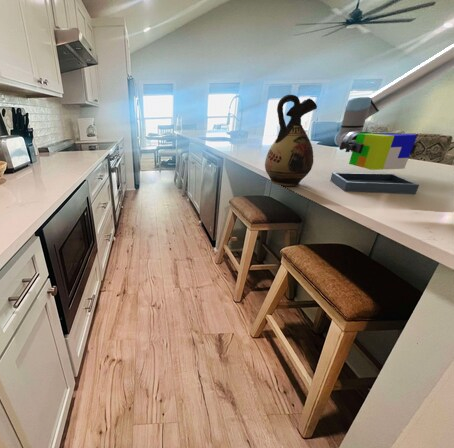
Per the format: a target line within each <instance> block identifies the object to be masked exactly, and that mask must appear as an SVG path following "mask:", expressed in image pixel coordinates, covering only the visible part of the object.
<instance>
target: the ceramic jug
mask: <svg viewBox="0 0 454 448" xmlns="http://www.w3.org/2000/svg"><path fill="white" fill-rule="evenodd" d="M289 102H292V103H293V106H292V107H290V108H289V110H288V111H287V112H286V114H285V115H284V105H285V104H286V103H289ZM317 108H318V105H317V103H316V102H315V101H314V100H313V99H312V98H310V97H308V98H307V99H304V100H303V101H302V102H301V101H300V98H299V97H298V95H295V94H286V95H284V96H282V97H281V98H280V99H279V101H278V103H277V108H276V113H277V118H278V124H279V131H278V133H277V137H276V139H275V140H274V141H273V143H272V144H271V146H270V147H269V149H268V151H267V154H266V157H265V160H264V169H265V172H266V174H267V175H268V177H269V179H270V183H271V184H274V185H278V186H281V187H298V186H300V183H301V181H302V180H303V179H305V177H306V176H307V175H308V174H309V173H310V172H311V170H312V168H313V165H314V150H313V145H312V142H311V140H310V138H309V136H308V134H307V132H306V131H305V129H304V127H303V125H302V117H303V116H304V115H306V114H308V113H310V112H313V111H315V110H317ZM285 116H287V117H290V119H289V121H288V123H287V124H286V121H285ZM259 185H261V184H259Z"/></svg>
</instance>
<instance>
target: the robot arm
mask: <svg viewBox="0 0 454 448" xmlns="http://www.w3.org/2000/svg"><path fill="white" fill-rule="evenodd" d="M452 70H454V43H453V44H450V46H448V47H446V48H444V49H443V50H442V51H440V52H438V53H437V54H434V56H432V57H430V58H429V59H427V60H425V61H424V62H422V63H420V65H417V66H416V67H414V68H412V69H411V70H409V71H408V72H406V73H404V74H403V75H401V76H400V77H398V78H396V79H395V80H394V81H392V82H391V83H388V84H387V85H385V86H383V87H382V88H380V89H379V90H377V91H376V92H374V93H372V94H371V95H370V96H359V97H351V98H349V99H348V100H347V103H346V106H345V108H344V112H343V116H342V122H341V125H340V128H339V131H337V133H336V134H335V136H334V138H333V139H334V143H335V145H336V146H338V147H339V150H340V151H342V150H343V151H344V150H345V153H352V152H353V151H354V152H356V153H361V152H362V149H363V146H364V144H360V143H357V142H355V141H356V138H357V135H358V134H364V133H370V132H369V131H364V129H363V128H364V127H365V123H366V120H367V119H368V118H370V117H372V116H374V115H375V114H377V113H378V112H380V111H382V110H383V109H385V108H387V107H389V106H390V105H393V104H394V103H396V102H398V101H399V100H402V99H403V98H405V97H406V96H408V95H410V94H412V93H414V92H415V91H418V90H419V89H421V88H423V87H424V86H426V85H427V84H430V83H431V82H433V81H435V80H436V79H438V78H440V77H442V76H444V75H446V74H447V73H449V72H450V71H452ZM417 146H418V144H417V143H414V145H413V148H412V150H411V153H410V155H411V154H414V153H415V150H416V149H417Z"/></svg>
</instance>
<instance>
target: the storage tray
mask: <svg viewBox="0 0 454 448" xmlns="http://www.w3.org/2000/svg"><path fill="white" fill-rule="evenodd" d="M330 181H331V182H332V183H333V184H334V185H336V186H337V187H338V188H340V189H341V190H342V191H344V192H355V193H356V192H357V193H380V194H401V195H403V194H404V195H405V194H406V195H417V192H418V189H419V188H420V184H419V183H417V182H415V181H412V180H409V179H407V178H404V177H402V176H400V175H397V174H394V173H368V172H367V173H364V172H331V176H330Z"/></svg>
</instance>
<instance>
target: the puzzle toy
mask: <svg viewBox="0 0 454 448" xmlns="http://www.w3.org/2000/svg"><path fill="white" fill-rule="evenodd" d="M417 137H418V134H414V133H413V134H412V133H400V132H399V133H398V132H369V133H364V134H358V135H357V138H356V141H355V142H357V143H360V144H364V146H363V149H362V152H361V153H356V152H354V151H353V152H351V155H350V159H349V162H348V164H349V165H352V166H356V167H358V168H359V167H360V168H363V169H366V170H372V171H378V170H404V169H405V168H406V166H407V163H408V160H409V158H410V155H411V154H410V153H411V150H412V148H413V145H414V144H416V141H417Z"/></svg>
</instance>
